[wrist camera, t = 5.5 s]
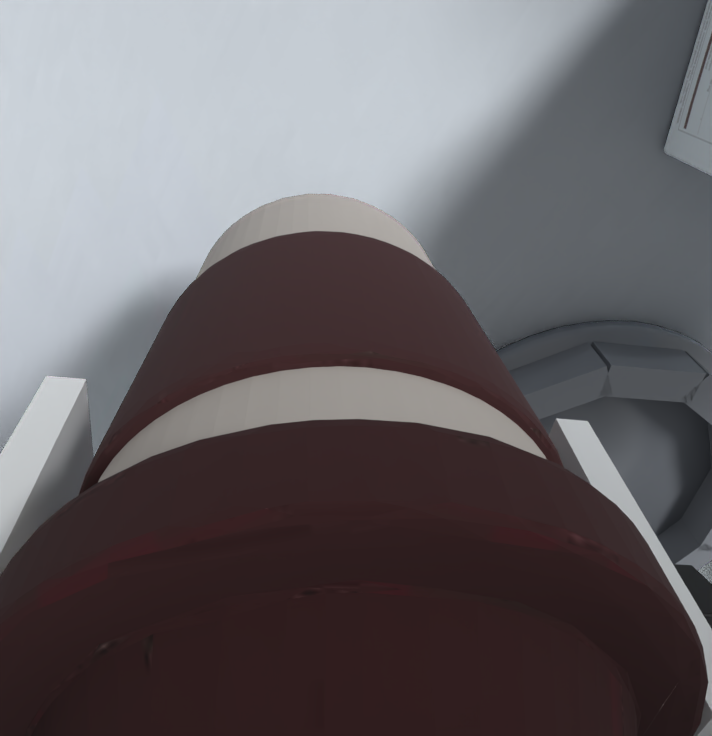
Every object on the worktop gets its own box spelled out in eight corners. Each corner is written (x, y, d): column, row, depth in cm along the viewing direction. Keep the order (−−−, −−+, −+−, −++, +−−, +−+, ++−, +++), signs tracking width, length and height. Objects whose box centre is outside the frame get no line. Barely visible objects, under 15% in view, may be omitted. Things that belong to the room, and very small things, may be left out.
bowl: (436, 302, 28) (451, 336, 26) (811, 339, 31) (857, 373, 29) (366, 585, 38) (372, 629, 36) (655, 592, 41) (679, 633, 39)
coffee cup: (421, 77, 16) (810, 519, 4) (510, 372, 22) (791, 954, 9) (84, 220, 18) (-427, 877, 5) (245, 463, 23) (179, 1074, 11)
